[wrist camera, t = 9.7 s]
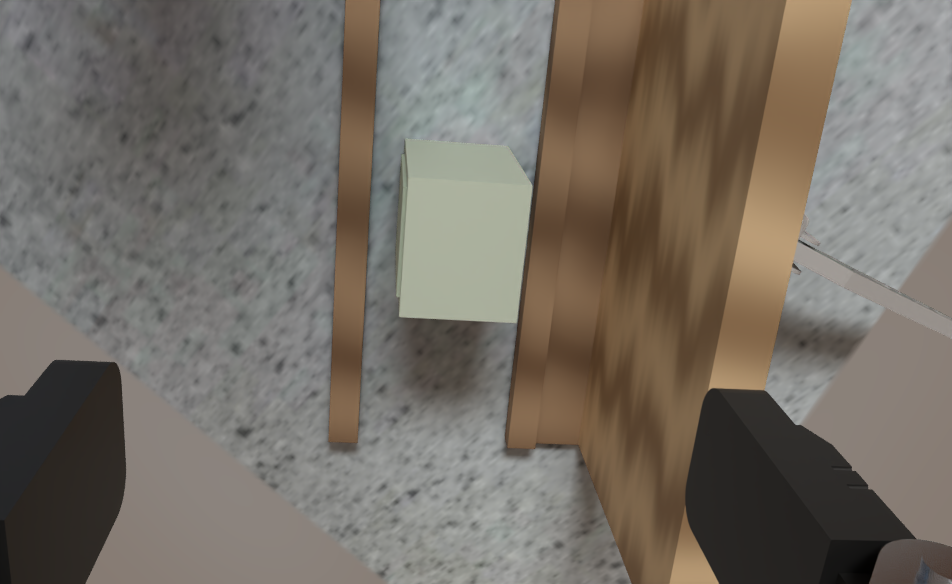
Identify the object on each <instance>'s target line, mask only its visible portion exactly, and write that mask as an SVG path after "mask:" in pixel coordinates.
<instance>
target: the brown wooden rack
mask: <svg viewBox="0 0 952 584" xmlns="http://www.w3.org/2000/svg"><path fill="white" fill-rule="evenodd" d="M851 2H852V0H555V8H554V16H553V25H552V34H551V42H550V51H549V60H548V68H547V77H546V85H545V94H544V103H543V111H542V120H541V129H540V137H539V146H538V155H537V163H536V172H535V181H534V189H533V198H532V206H531V215H530V224H529V232H528V241H527V250H526V258H525V267H524V276H523V284H522V293H521V302H520V310H519V319H518V327H517V336H516V345H515V353H514V362H513V371H512V379H511V388H510V397H509V405H508V414H507V423H506V431H505V439H506V444H507V448H523V449H535V446H536V443H542V444H571V445H579V448H580V450H581V453H582V456H583V458H584V461H585V463H586V466H587V469H588V471H589V474H590V476H591V479H592V482H593V484H594V487H595V489H596V492H597V494H598V497H599V500H600V502H601V505H602V507H603V510H604V513H605V515H606V518H607V520H608V523H609V526H610V528H611V531H612V533H613V536H614V539H615V541H616V544H617V546H618V549H619V551H620V554H621V557H622V559H623V562H624V564H625V567H626V570H627V572H628V575H629V577H630V580H631V583H632V584H719V582H718V581H717V579H716V577H715V575H714V573H713V571H712V569H711V567H710V565H709V563H708V561H707V559H706V558H705V556H704V554H703V552H702V550H701V548H700V546H699V544H698V542H697V540H696V538H695V536H694V535H693V533H692V531H691V528H690V526H689V523H688V519H687V514H686V506H685V490H686V482H687V477H688V472H689V467H690V462H691V457H692V452H693V447H694V442H695V437H696V432H697V427H698V422H699V417H700V412H701V407H702V403H703V400H704V397H705V395H706V393H707V392H708V391H709V390H710V389H712V388H724V389H749V390H764V389H765V385H766V380H767V376H768V371H769V367H770V362H771V358H772V353H773V349H774V345H775V340H776V336H777V331H778V327H779V322H780V318H781V313H782V309H783V304H784V300H785V296H786V291H787V287H788V282H789V278H790V273H791V269H792V264H793V260H794V255H795V251H796V247H797V242H798V238H799V233H800V229H801V224H802V220H803V215H804V211H805V206H806V202H807V198H808V193H809V189H810V184H811V180H812V175H813V171H814V166H815V162H816V158H817V153H818V149H819V144H820V140H821V135H822V131H823V126H824V122H825V117H826V113H827V109H828V104H829V100H830V95H831V91H832V86H833V82H834V77H835V73H836V68H837V64H838V60H839V55H840V51H841V46H842V42H843V37H844V33H845V28H846V24H847V19H848V15H849V11H850V6H851ZM379 16H380V0H346V4H345V29H344V55H343V81H342V107H341V133H340V159H339V184H338V210H337V236H336V262H335V288H334V313H333V339H332V365H331V391H330V417H329V442H345V443H357V441H358V424H359V404H360V385H361V365H362V346H363V327H364V307H365V288H366V268H367V249H368V229H369V210H370V191H371V171H372V152H373V132H374V113H375V93H376V74H377V54H378V35H379Z"/></svg>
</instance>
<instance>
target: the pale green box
mask: <svg viewBox="0 0 952 584" xmlns="http://www.w3.org/2000/svg"><path fill="white" fill-rule="evenodd" d="M532 187H533V186H532V184H531V182H530V181H529V179H528V177H527V176H526V174H525V173H524V171H523V169H522V168H521V166H520V165H519V163H518V161H517V160H516V158H515V156H514V155H513V153H512V152H511V150H510V148H509V147H508V146H498V145H484V144H471V143H457V142H444V141H430V140H417V139H405V150H404V154H401V170H400V186H399V202H398V217H397V233H396V249H395V256H396V297H399V317H407V318H426V319H446V320H465V321H485V322H505V323H517V316H518V307H519V299H520V290H521V281H522V273H523V264H524V256H525V247H526V238H527V230H528V221H529V212H530V204H531V195H532Z"/></svg>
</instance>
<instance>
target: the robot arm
mask: <svg viewBox="0 0 952 584" xmlns="http://www.w3.org/2000/svg"><path fill="white" fill-rule="evenodd" d="M122 403H123V402H122V384H121V375H120V370H119V368H118V365H117V364H116V363H115V362H96V361H72V360H71V361H70V360H54V361H53V362H52V363H51V364H50V365H49V366H48V367H47V369H46V370H45V371H44V372H43V373H42V375H41V376H40V377H39V379H38V380H37V381H36V382H35V383H34V385H33V386H32V387H31V388H30V390H29V391H28V392H27V393H26V394H25V396H18V395H7V396H5V397H3V398H1V399H0V584H85V583H86V581H87V579H88V577H89V575H90V573H91V571H92V568H93V566H94V564H95V562H96V560H97V558H98V556H99V554H100V552H101V550H102V548H103V546H104V543H105V541H106V539H107V537H108V535H109V533H110V531H111V529H112V526H113V525H114V522H115V520H116V518H117V516H118V514H119V511H120V508H121V504H122V500H123V496H124V489H125V479H126V458H125V440H124V422H123V404H122ZM685 506H686V514H687V519H688V523H689V526H690V528H691V531H692V533H693V535H694V536H695V538H696V540H697V542H698V544H699V546H700V548H701V550H702V552H703V554H704V556H705V558H706V559H707V561H708V563H709V565H710V567H711V569H712V571H713V573H714V575H715V577H716V579H717V581H718V582H719V584H952V547H951V546H947V545H944V544H941V543H937V542H932V541H927V540H920V539H916V538H915V537H914V536H913V535H912V534H911V532H910V531H909V530H908V529H907V528H906V527H905V526H904V524H903V523H902V522H901V521H900V520H899V519H898V518H897V517H896V516H895V514H894V513H893V512H892V511H891V510H890V509H889V508H888V507H887V506H886V504H885V503H884V502H883V501H882V500H881V499H880V498H879V497H878V496H877V494H876V493H875V492H874V491H873V490H868V485H867V483H866V482H865V481H864V480H863V479H862V478H861V476H860V475H859V474H858V473H857V472H856V471H852V467H851V465H850V464H849V463H848V462H847V461H846V460H845V459H844V458H843V456H842V455H841V454H840V453H839V452H838V451H837V450H836V449H835V447H834V446H833V445H832V444H830V443H828V442H826V441H825V440H824V439H822V438H820V437H819V436H817V435H816V434H814V433H812V432H811V431H809V430H808V429H806V428H805V427H803V426H801V425H795V424H794V423H793V422H792V420H791V419H790V418H789V417H788V416H787V415H786V413H785V412H784V411H783V410H782V409H781V408H780V406H779V405H778V404H777V403H776V402H775V401H774V399H773V398H772V397H771V396H770V395H769V394H768V393H767V392H766V391H764V390H749V389H724V388H712V389H710V390H709V391H708V392H707V393H706V395H705V397H704V400H703V403H702V407H701V412H700V417H699V422H698V427H697V432H696V437H695V442H694V447H693V452H692V457H691V462H690V467H689V472H688V477H687V482H686V490H685Z"/></svg>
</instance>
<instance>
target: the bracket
mask: <svg viewBox="0 0 952 584" xmlns="http://www.w3.org/2000/svg"><path fill="white" fill-rule="evenodd" d="M808 224H809V219H808V217H807V216H806V215H805V214H804V215H803V224H802V225H801V229H800V233H799V238H800V237H802V238H804V239H805V240H807V241H809V242H811V243H813V244H815V245H817V246H819V244H820V242H819V241H818V240H816V239H815V238H814V237H813V236H811V235H810V234H809V233H808V232H807V231H805V229H806V227H807V226H808ZM799 238H798V242H797V247H796V251H795V255H794V260H793V261H795V262H797V263H799V264H801V265H803V266H805V267H806V268H808V269H810V270H812V271H814V272H816V273H818V274H819V275H821V276H823V277H825V278H827V279H829V280H831V281H832V282H834V283H836V284H838V285H840V286H842V287H844V288H846V289H848V290H850V291H852V292H854V293H856V294H858V295H860V296H863V297H865V298H867V299H869V300H871V301H873V302H875V303H877V304H879V305H881V306H884V307H886V308H888V309H890V310H892V311H894V312H896V313H898V314H900V315H902V316H905V317H907V318H909V319H911V320H913V321H915V322H917V323H919V324H921V325H924V326H926V327H928V328H930V329H932V330H934V331H936V332H938V333H940V334H942V335H944V336H947V337H949V338H951V339H952V318H951V317H949V316H947V315H945V314H943V313H941V312H939V311H937V310H935V309H933V308H931V307H929V306H927V305H925V304H923V303H921V302H919V301H917V300H915V299H913V298H911V297H909V296H907V295H905V294H903V293H901V292H899V291H897V290H895V289H893V288H891V287H889V286H887V285H885V284H883V283H881V282H880V281H878V280H876V279H874V278H872V277H870V276H868V275H866V274H864V273H862V272H860V271H858V270H856V269H854V268H852V267H850V266H848V265H846V264H844V263H842V262H840V261H838V260H837V259H835V258H833V257H831V256H829V255H827V254H825V253H823V252H821V251H819V250H817V249H815V248H813V247H811V246H809V245H807V244H806V243H804V242H802V241H800V240H799ZM791 272H793V273H795V274H798V275H799V274H800V273H801V271H800V270H799V269H798V267H797V266H796V265H795V264H794V263H793V264H792V269H791Z"/></svg>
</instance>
